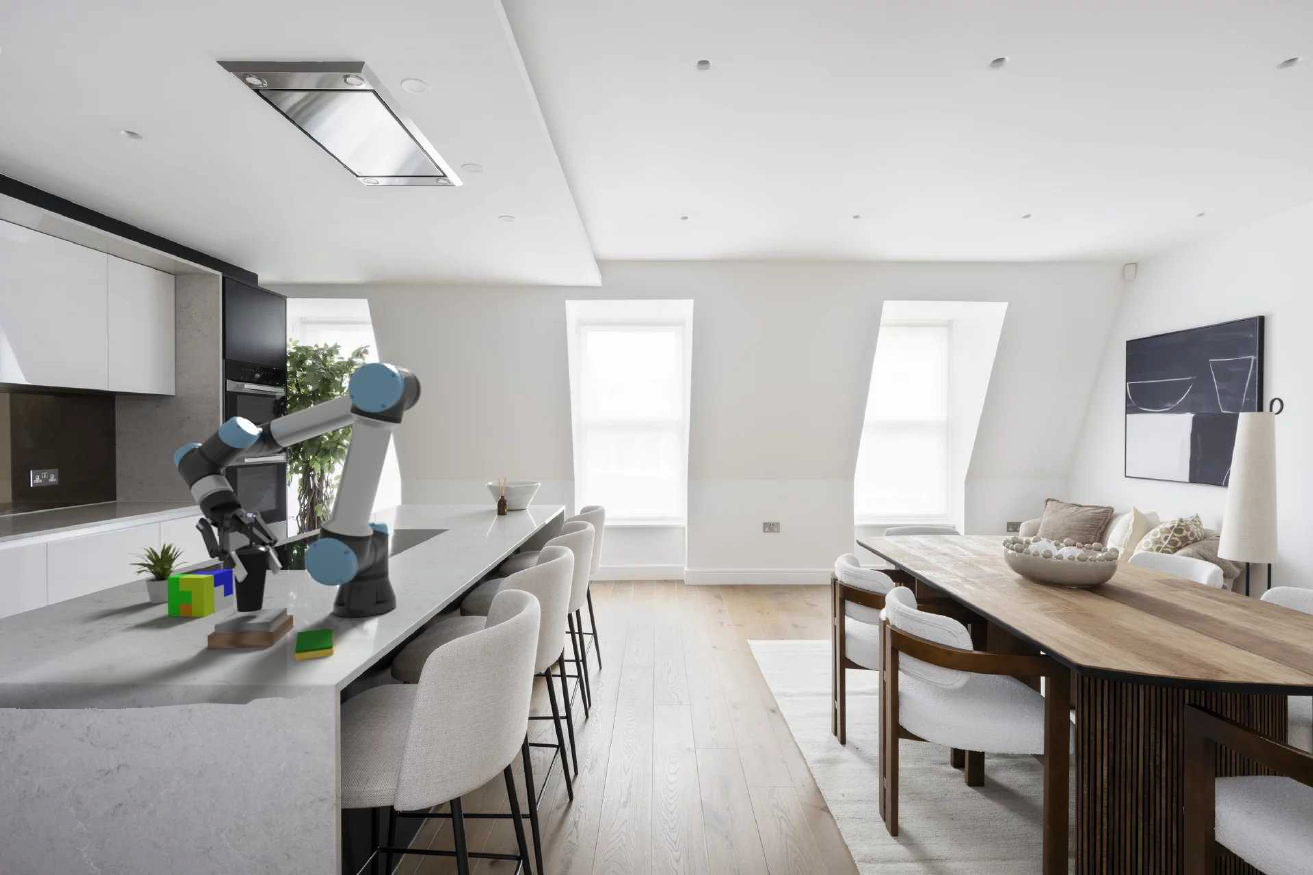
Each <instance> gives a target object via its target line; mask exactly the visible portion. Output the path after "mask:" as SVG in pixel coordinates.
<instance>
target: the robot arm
mask: <svg viewBox="0 0 1313 875" xmlns="http://www.w3.org/2000/svg"><path fill="white" fill-rule="evenodd" d="M347 388H348V389H347V390H348V393H346V394H344V395H341V396H338V397H334V398H333V399H329V400H326V401H324V402H321V403H318V404H316V405H312V406H309V407H307V408H304V409H301V410H297V411H295V412H292V413H290V414H287V415H284V416H280V417H278V418H275V419H273V420H270V421H267V422H265V423H261V424H259V425H258V424H257V425H255V424H254V423H252V422H251V421H250V420H248V419H246V418H243V417H241V416H232V417H231V418H230V419H229V420H227V421H226V422H224V423H223V424H221V425H220V426H219V428H217V429H216V430H215V432H214V433H212V434H211V435H210V436H209V437H208V438H207V439H206V440H205V441H204V442H202V443H199V442H195V443H194V442H193V443H188V444H186V446H183V447H180V448H179V449H177V450H176V452H175V453H174V455H173V462H174V464H175V467H176V469H177V472H178V474H179V475H180V476H181V477H182V479H183V481H184V482H185V484H186V486H187V487H188V488H189V491H190V493H191V495H192V497H193V498H194V500H195V502H196V503H197V505H198V506H199V509H200V510H201V513H202V514H203V516H204V517H200V518H199V520H198V521H197V523H196V525H195V528H196V529H197V530H198V531H199V533H201V538H202V539H203V543H204V544H205V545H204V546H205V547H206V551H207V553H208V556H209V558H210V559H213V560H214V559H216V558H217V559H218V562H223V563H224V565H225V567H226V568H227V569H232V571H233V575H234V574H235V576H236V578H237V579H238V581H239V582H242V581H243V580H244V578H245V577H246V575H247V574H248V573H247V572H246V570H245V568H244V567H243V565H242V563H241V561H240V560H239V558H238V556H237V555H236V553H235V551H233V552H231V545H230V532H237V533H239V534H241V535H244V536H245V537H246V538H247V539H249V531H250V522H253V544H257V545H262V546H265V547H267V548H270V551H269V554H268V563H267V567H268V568H269V569H270V571H271V572H272V574H273V575H277V574H278V573H279V571H280V570H281V568H283V566H282V565H281V562H280V561H279V558H278V557H279V555H278V552H277V551H276V549H275V546H276V545H277V543H278V542H279V539H278V537H277V536H276V534H274V532H273V531H272V529H270V526H268V524H266V521H264V519H262V517H261V513H260V512H259V510H255V511H254V512H253V513H247V511H245V510H244V509H243V508H242V504H241V501H240V500H239V498H238V496H237V495H236V493H235V492H234V490H233V487H232V486H231V485H230V483H229V481H228V480H227V478H226V476H225V474H224V472H223V471H224V470H226V468H227V467H229V466H230V465H231V464H232V463H233V462H234V461H235V460H237V459H238V458H240V457H247V456H261V455H262V456H266V455H267V456H268V455H272V454H276V453H278V452H280V451H281V450H282V449H284V448H285V447H289V446H291V445H294V444H298V443H301V442H303V441H306V440H309V439H312V438H315V437H317V436H320V435H322V434H326V433H328V432H332V431H336V430H338V429H341V428H344V427H346V426H350V425H352V424H353V427H352V430H351V435H350V439H349V442H348V445H347V446H348V448H347V450H346V453H345V459H344V462H343V465H342V471H341V474H340V479H339V483H338V486H337V490H336V494H335V498H334V501H333V506H332V510H331V514H330V517H329V518H327V519H326V520H324V521H323V522H321V524H320V529H319V533H318V536H317V540H315V541H314V542H312V544H310V546H308V549H307V550H306V552H305V555H304V566H305V569H306V571H307V573H308V574H309V575H310V576H311V579H313V580H314V581H316V582H317V583H318V584H321V585H323V586H327V587H328V586H329V587H335V586H338V589H337V592H336V595H335V598H334V601H333V610H332V611H333V614H334V615H335V616H339V617H345V618H360V617H361V618H362V617H370V615H371V616H376V615H380V613H381V614H384V613H387V611H388V612H390V611H392V610H394V609H395V608H397V597H396V594H395V591H394V588H393V586H392V584H391V579H390V577H389V576H390V575H389V574H390V572H389V570H390V568H389V566H390V564H389V558H390V557H389V554H390V552H389V551H390V550H389V538H390V533H389V530H388V528H389V527H388V524H387V523H386V522H382V521H373V522H372V521H371V522H370V518H371V515H372V511H373V507H374V502H375V499H376V496H377V491H378V487H379V483H380V479H381V475H382V472H383V469H384V468H383V467H384V464H385V459H386V457H387V452H388V448H389V445H390V440H391V437H392V433H393V430H394V429H396V428H397V427H398V426H400V425H401V424H402V420H403V417H404V412H406V411H409V410H411V409H412V408H413V407H415V406H416V405H417V404H418V402H419V400H420V399H421V394H422V386H421V382H420V379H419V377H417V375H416V374H415V373H414V372H413V371H411V370H410V369H408V368H405V367H403V366H399V365H393V364H390V363H388V362H386V363H385V362H381V361H380V362H369V363H366V364H364V365H362V366H360V367H358V368H357V370H355V371H354V372H353V374H352V375H351V377H350V378H349V382H348V387H347ZM213 528H216V530H217V532H216V533H217V537H218V540H217V538H216V534H215V532H214V530H213ZM393 608H394V609H393ZM389 610H390V611H389Z"/></svg>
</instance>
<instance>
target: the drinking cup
mask: <svg viewBox="0 0 1313 875" xmlns="http://www.w3.org/2000/svg"><path fill="white" fill-rule="evenodd" d="M248 540H249V542H248V544H244V545H241V546H238V547H236V548H235V549H233V550H230V553H231V552H233V551H235V553H236V555H237V556H238V558H239V560H240V561H241V563H242V565H243V567H244V568H245V570H246V572H247V573H248V574H247V575H246V577H245V578H244V580H243V581H242V582H239V581H238V579H237V578H236V576H235V574H234V573H233V579H234V589H235V599H236V608H237V610H236V611H238V612H253V611H258V610H261V609H263V604H264V597H265V596H264V594H265V589H266V588H265V586H266V580H267V570H268V568H267V567H268V564H267V563H268V554H269V551H270V548H267V547H265V546H262V545H257V544H255V543H254V542H253V522H250V531H249V538H248Z"/></svg>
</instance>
